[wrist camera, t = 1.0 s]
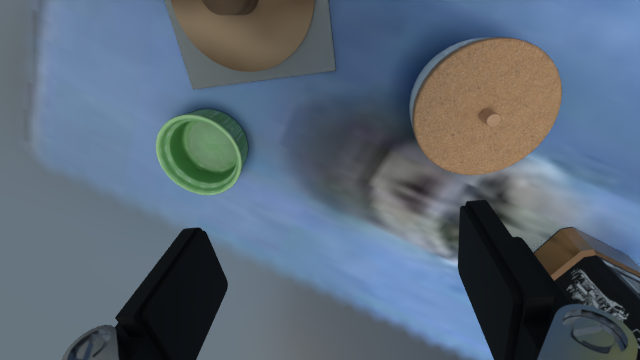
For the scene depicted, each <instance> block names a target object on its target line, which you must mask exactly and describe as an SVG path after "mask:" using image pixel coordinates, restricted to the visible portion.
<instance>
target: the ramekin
mask: <svg viewBox="0 0 640 360" xmlns="http://www.w3.org/2000/svg"><path fill="white" fill-rule="evenodd" d="M156 152H157V157H158V160H159V162H160V165H161V166H162V168H163V170H164V171H165V173H166V174H167V175H168V176H169V177H170V178H171V179H172V180H173V181H174V182H175V183H176V184H178V185H179V186H180V187H182V188H184V189H186V190H188V191H190V192H193V193H197V194H201V195H215V194H219V193H222V192H224V191H226V190H228V189H229V188H231V187H232V186H233V185H234V184H235V183H236V181H237V180H238V178H239V176H240V174H241V170H242V167H243V165H244V163H245V161H246V158H247V154H248V142H247V139H246V136H245V133H244V131H243V130H242V128H241V127H240V126H239V124H238V123H237V122H236V121H235V120H234V119H232V118H231V117H230V116H228V115H227V114H224V113H222V112H220V111H217V110H211V109H203V110H198V111H194V112H192V113H189V114H184V115H180V116H177V117H174V118H172V119H170V120H169V121H168V122H166V123H165V124H164V125H163V127H162V128H161V130H160V131H159V133H158V136H157V140H156Z"/></svg>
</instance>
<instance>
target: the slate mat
mask: <svg viewBox="0 0 640 360" xmlns="http://www.w3.org/2000/svg"><path fill="white" fill-rule="evenodd" d="M164 1H165V4H166V7H167V10H168V13H169V17H170V20H171V23H172V26H173V29H174V32H175V35H176V38H177V41H178V45H179V48H180V51H181V54H182V57H183V60H184V63H185V66H186V69H187V73H188V76H189V79H190V82H191V85H192V88H193V89H199V88H207V87H215V86H222V85H230V84H238V83H245V82H253V81H261V80H268V79H276V78H284V77H291V76H299V75H307V74H314V73H322V72H330V71H336V66H335V57H334V48H333V39H332V30H331V21H330V11H329V2H328V0H315V7H314V13H313V18H312V21H311V25H310V27H309V30H308V32H307V34H306V36H305V38H304V40H303V41H302V43H301V44H300V46H299V47H298V48H297V50H296V51H295V52H294V53H293V54H292V55H291V56H290V57H288V58H287V59H286V60H284V61H283V62H282V63H280V64H278V65H276V66H274V67H272V68H269V69H266V70H262V71H255V72H244V71H237V70H232V69H229V68H227V67H224V66H222V65H220V64H218V63H216V62H214V61H213V60H211V59H210V58H208V57H207V56H206V55H204V54H203V53H202V52H201V51H200V50H199V49H198V48H197V47H196V46H195V45H194V44H193V43H192V42H191V40H190V39H189V38H188V37H187V35H186V34H185V32H184V31H183V29H182V27H181V26H180V23H179V21H178V19H177V17H176V15H175V12H174V10H173V7H172V3H171V0H164Z"/></svg>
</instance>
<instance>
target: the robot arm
mask: <svg viewBox="0 0 640 360" xmlns="http://www.w3.org/2000/svg"><path fill="white" fill-rule="evenodd" d="M458 270H459V275H460V277H461V280H462V282H463V285H464V287H465V290H466V292H467V295H468V297H469V299H470V302H471V304H472V307H473V309H474V312H475V314H476V317H477V319H478V321H479V324H480V326H481V329H482V331H483V334H484V336H485V339H486V341H487V343H488V346H489V348H490V351H491V353H492V356H493V358H494V360H640V349H639V348H638V345H637V340H636V338H635V336H634V334H633V333H632V331H631V330H630V329H629V328H628V327H627V326H626V325H625V324H624V323H623V322H622V321H620V320H619V319H617V318H616V317H615V316H613V315H611V314H609V313H607V312H605V311H603V310H601V309H598V308H595V307H592V306H588V305H581V304H571V303H570V301H569V300H568V299H567V297H566V296H565V295H564V293H563V292H562V291H561V289H560V288H559V287H558V285H557V284H556V283H555V281H554V280H553V279H552V277H551V276H550V275H549V273H548V272H547V271H546V269H545V268H544V267H543V265H542V264H541V263H540V261H539V260H538V259H537V257H536V256H535V255H534V253H533V252H532V251H531V249H530V248H529V247H528V245H527V244H526V243H525V241H524V240H523V239H522V238H520V237H512V236H511V234H510V233H509V232H508V230H507V229H506V227H505V226H504V225H503V223H502V222H501V220H500V219H499V218H498V216H497V215H496V213H495V212H494V211H493V209H492V208H491V206H490V205H489V203H488V202H487V201H486V200H476V201H467V202H466V206H461V208H460V224H459V251H458ZM227 287H228V283H227V279H226V277H225V274H224V272H223V270H222V268H221V265H220V263H219V261H218V258H217V256H216V254H215V251H214V249H213V247H212V245H211V242H210V240H209V238H208V235H207V233H206V232H205V231H202V229H201V228H187V229H183V230H182V231H181V233H180V234H179V235H178V237H177V238H176V239H175V240H174V242H173V243H172V244H171V246H170V247H169V248H168V250H167V251H166V252H165V254H164V255H163V256H162V257H161V259H160V260H159V261H158V263H157V264H156V265H155V267H154V268H153V269H152V271H151V272H150V273H149V274H148V276H147V277H146V278H145V280H144V281H143V282H142V283H141V285H140V286H139V287H138V289H137V290H136V291H135V293H134V294H133V295H132V297H131V298H130V299H129V300H128V302H127V303H126V304H125V306H124V307H123V308H122V309H121V311H120V312H119V313H118V315H117V316H116V320H117V321H118V322H119V323H118V324H117V325H116V327H113V326H112V325H102V326H98V327H96V328H93V329H91V330H89V331H88V332H86V333H84V334H83V335H81V336H80V337H79V338H78V339H76V340H75V341H74V342H73V343H72V344H71V345H70V347H69V348H68V349H67V350H66V352H65V354H64V355H63V358H62V360H196V359H197V356H198V354H199V352H200V350H201V347H202V345H203V343H204V340H205V338H206V336H207V334H208V332H209V329H210V327H211V325H212V322H213V320H214V318H215V315H216V313H217V311H218V309H219V307H220V305H221V302H222V300H223V298H224V295H225V293H226V291H227Z"/></svg>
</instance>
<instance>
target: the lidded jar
mask: <svg viewBox="0 0 640 360" xmlns="http://www.w3.org/2000/svg"><path fill="white" fill-rule="evenodd" d="M561 96H562V87H561V79H560V76H559V73H558V70H557V68H556V66H555V64H554V62H553V61H552V60H551V58H550V57H549V56H548V55H547V54H546V53H545V52H544V51H543V50H541V49H540V48H539V47H537V46H535V45H533V44H531V43H529V42H527V41H523V40H519V39H515V38H507V37H493V38H490V37H484V38H475V39H470V40H466V41H462V42H459V43H457V44H454V45H452V46H450V47H448V48H447V49H445V50H443V51H442V52H440V53H439V54H437V55H436V56H435V57H434V58H432V59H431V60H430V61H429V62H428V63H427V65H426V66H425V67H424V68H423V70H422V71H421V72H420V74H419V76H418V77H417V79H416V81H415V84H414V86H413V89H412V92H411V97H410V106H409V112H410V119H411V124H412V127H413V131H414V134H415V137H416V140H417V142H418V144H419V146H420V148H421V150H422V151H423V152H424V154H425V155H426V156H427V157H428V158H429V159H430V160H431V161H432V162H433V163H434V164H436V165H438V166H439V167H441V168H443V169H445V170H448V171H450V172H454V173H458V174H465V175H479V174H486V173H491V172H495V171H498V170H501V169H504V168H506V167H508V166H510V165H513V164H514V163H516V162H518V161H520V160H521V159H523V158H524V157H525V156H527V155H528V154H529V153H531V152H532V151H533V150H534V149H535V148H536V147H537V146H538V145H539V144H540V143H541V142H542V141H543V139H544V138H545V137H546V135H547V134H548V132H549V131H550V129H551V128H552V126H553V124H554V122H555V120H556V117H557V115H558V112H559V108H560V104H561Z"/></svg>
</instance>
